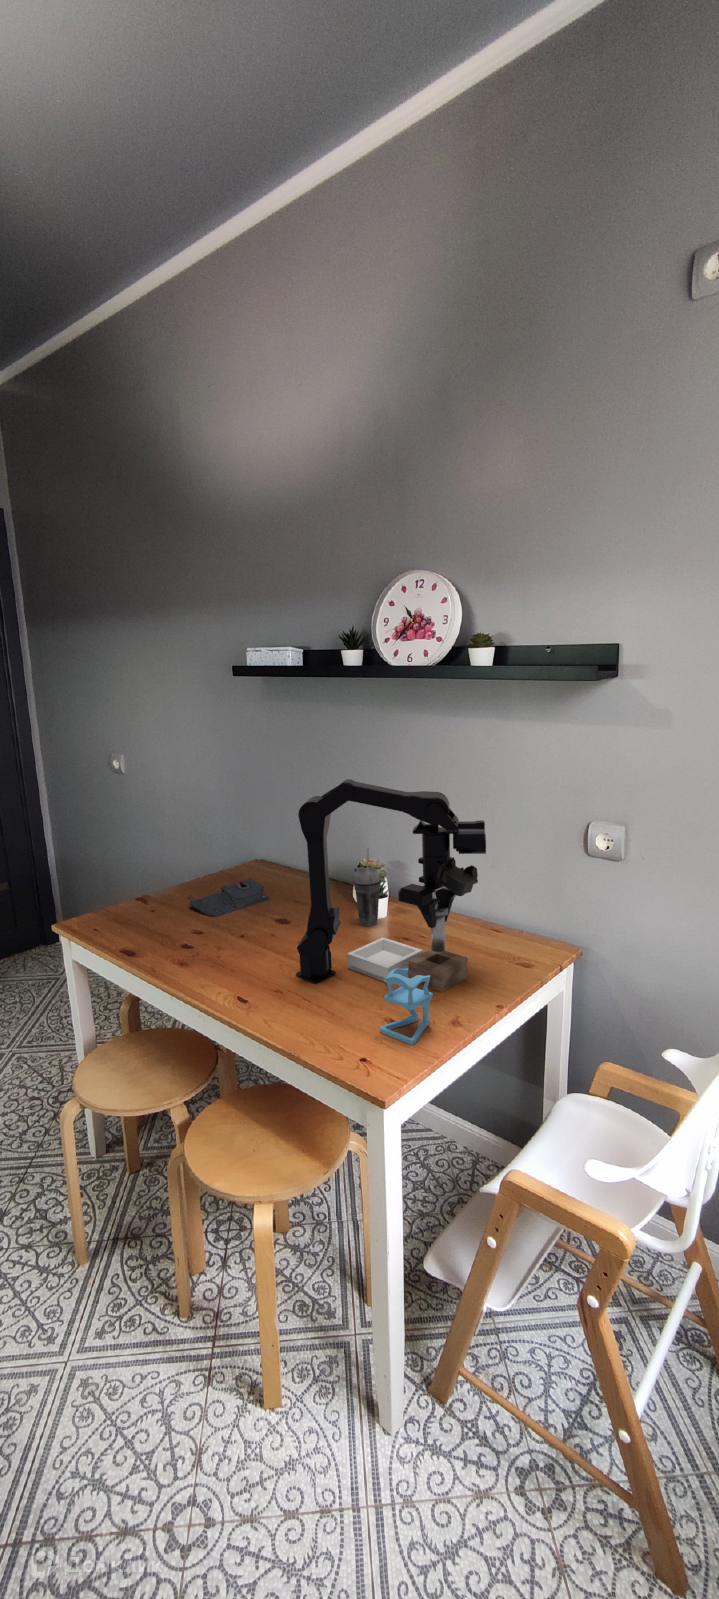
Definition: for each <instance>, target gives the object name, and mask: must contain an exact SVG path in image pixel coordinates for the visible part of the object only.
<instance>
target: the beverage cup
mask: <svg viewBox="0 0 719 1599" xmlns="http://www.w3.org/2000/svg"><path fill="white" fill-rule="evenodd" d="M369 850H370V849H369V848H366V865H362V866H360V867H359V868H357V870H356V871H355V872H354V874H353V881H352V883H353V887H354V891H355V897H356V904H357V912H358V919H359V920H358V921H359V925H360V926H361V927H367V928H368V927H375V926H377V924H378V918H379V904H380V901H379V900H380V899H379V898H380V889H381V882H382V878H381V875H380V873H379V871H378V870H377V869H376V868H375V867H374V866H371V865H369V864H370V862H369V860H370V859H369V858H370V857H369V856H370V854H369V853H370V851H369Z"/></svg>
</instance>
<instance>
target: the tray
mask: <svg viewBox="0 0 719 1599" xmlns="http://www.w3.org/2000/svg"><path fill="white" fill-rule="evenodd" d="M422 953H424V949H421V948H417V947H413V946H411V945H408V944H405V943H402V942H399V941H396V940H392V939H389V938H386V937H381V938H378V939H376V940H374V941H372V942H370V943H368V944H365V945H363V946H360V947H359V948H357V949H354V950H352V951H350V952H347V953H346V955H347V956H346V957H347V960H346V961H347V969H349V970H352V971H353V972H354V971H355V972H357V973H359V974H362V975H364V976H368V977H371V978H373V979H375V980H378V981H381V982H384V983H386V980H385V978H386V977H387V975H388V974H389V973H390V972H391V971H392V970H393V969H406V968H408V973H409V966H408V960H410V959H412V958H414V957H416V956H418V955H420V954H422ZM400 975H403V976H404V974H400Z"/></svg>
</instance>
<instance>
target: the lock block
mask: <svg viewBox="0 0 719 1599" xmlns="http://www.w3.org/2000/svg"><path fill="white" fill-rule="evenodd" d="M468 960H469V959H468V957H467V956H464V955H460V954H458V953H457V954H456V953H453V952H450V951H447V950H446V949H445V950H444V951H442V952H435V951H432V950H431V948H429V949H428V950H426V951H423V953H422V954H420V955H418V956H416V957H414V958H412V959H410V960H408V966H409V972H408V978H413V977H415V976H417V975H422V976H428V975H430V980H429V984H428V988H430V989H433V990H434V991H438V992H440V993H443V992H445V991H446V990H448V989H451V988H452V987H454V986H456V985H457V984H459V983H460V982H462V981H464V980H466V979H467V978H468V977H469V975H468V974H469V973H468V972H469V971H468V970H469V969H468V967H469V966H468V963H469V961H468ZM425 982H426V981H423V982H421V983H420V984H419V985H422V986H424V984H425Z"/></svg>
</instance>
